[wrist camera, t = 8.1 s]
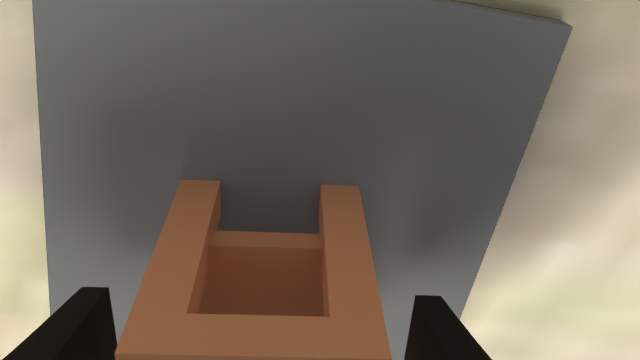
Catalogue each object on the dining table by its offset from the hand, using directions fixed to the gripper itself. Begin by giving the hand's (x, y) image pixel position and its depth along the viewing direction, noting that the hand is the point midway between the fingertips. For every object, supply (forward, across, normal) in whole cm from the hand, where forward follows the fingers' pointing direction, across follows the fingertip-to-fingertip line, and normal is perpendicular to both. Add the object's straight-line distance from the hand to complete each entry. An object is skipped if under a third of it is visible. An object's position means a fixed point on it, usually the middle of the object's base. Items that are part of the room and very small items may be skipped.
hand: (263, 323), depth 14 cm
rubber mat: (+3, 0, 0) cm, 3 cm away
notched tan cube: (+3, 0, 0) cm, 3 cm away
